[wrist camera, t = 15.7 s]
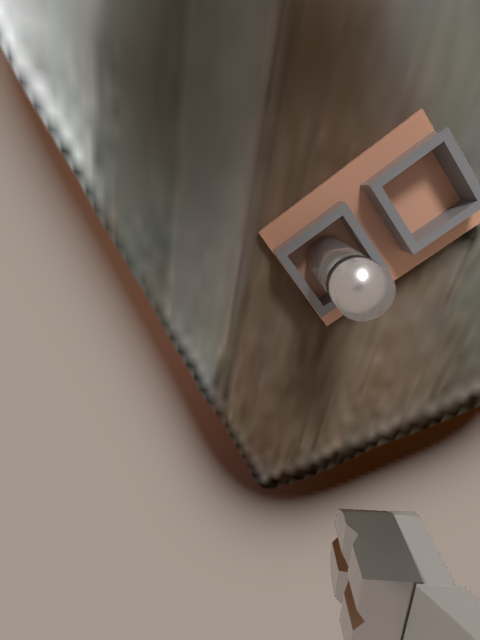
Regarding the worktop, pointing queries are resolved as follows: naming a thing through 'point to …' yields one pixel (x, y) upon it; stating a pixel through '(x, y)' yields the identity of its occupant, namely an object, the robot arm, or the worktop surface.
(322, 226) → the grey double cup holder
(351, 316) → the grey capped bottle
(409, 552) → the robot arm
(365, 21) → the worktop surface
